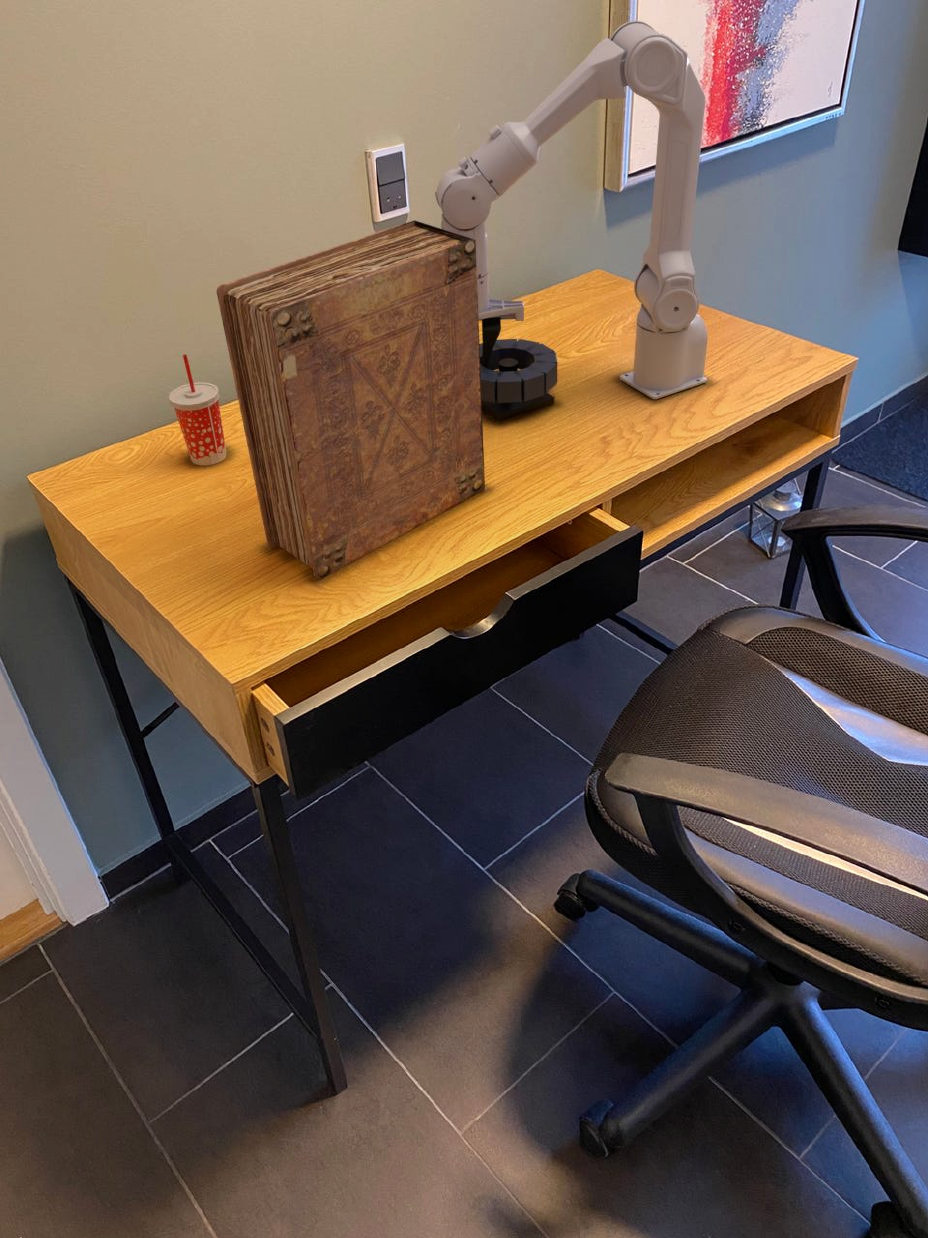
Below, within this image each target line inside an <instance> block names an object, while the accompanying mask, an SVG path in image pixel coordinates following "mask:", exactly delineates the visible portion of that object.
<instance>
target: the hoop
mask: <svg viewBox="0 0 928 1238" xmlns="http://www.w3.org/2000/svg"><path fill="white" fill-rule="evenodd" d="M482 347H483V342H481V343H480V369H481V396H482V400H484V401H488V402H493V403H495V402H496V401H497V400H498V403H511V402H521V399H522V400H523V401H528V400H531V399H534V398H537V397H540V396H543V395H544V393H545V394H547V393H550V391H551V390H552V389H553V388H555V386H556V385H557V384H558V359H557V358H558V357H557V352H555V350H554V349H552V348H550V347H549V346H547V345H546V344H544V343H540V342H538V341H533V340H527V339H523V338H519V339H518V338H504V339H503V338H502V339H500V338H499V339H497V340H496V342H495V345H494V347H493V350H492V353H491V356H490V360H489V364H488V369H487V368H485V367H484V366H482ZM507 358H511V359H515V360H517V361H518V371H510V372H499V361H500V360H502V359H507Z"/></svg>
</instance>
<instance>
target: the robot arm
mask: <svg viewBox="0 0 928 1238" xmlns="http://www.w3.org/2000/svg"><path fill="white" fill-rule="evenodd" d="M625 87H629V89H630V91H632V92H633V94H635V95H637V96H639V97H641V98H643V99H645V100H646V101H648V102H649V103H650V104H651V105H652V106H653V107H654V108H655V109H656V110H657V112H658V113H659V119H658V132H657V142H656V143H657V144H656V145H657V146H656V158H655V168H654V170H655V171H654V180H653V181H654V183H653V193H652V194H653V195H652V208H651V220H650V233H649V245H648V246H647V248H646V249H645V250H644V252H643V254H642V263H641V266H640V269H639V270H638V273H637V274H636V275H635V276H636V277H635V279H634V283H633V291H634V295H635V297H636V299H637V300H638V301H639V303H640V308H639V311H638V313H637V316H636V327H635V328H636V329H635V341H634V342H635V343H634V357H633V371H629V372H627V373H624V374H621V375H619V380H620V381H622V382H624V383H626V384H627V385H629V386H630V387H631V388H634V389H635V390H637V391H639V392H640V393H642V394H644V395H645V396H646V397H649V398H650V399H652V400H658V399H660V398H663V397H667V396H670V395H674V394H676V393H678V392H681V391H685V390H687V389H690V388H693V387H696V386H699V385H702V384H705V383H707V382H708V378H707V377H706V376H705V375H704V374H705V366H706V358H707V348H708V339H709V337H708V336H709V335H708V329H707V326H706V323H705V321H704V320H703V318H702V316H700V315H699V314H698V312H699V309H700V297H699V295H698V293H697V290H696V282H695V281H696V272H695V271H696V270H695V266H694V263H693V259H692V253H691V245H692V236H693V235H692V234H693V226H694V215H695V207H696V198H697V197H696V196H697V188H698V187H697V186H698V177H699V170H700V169H699V168H700V158H701V150H702V139H703V129H704V120H705V110H706V96H705V95H706V94H705V93H704V90H703V88H702V86H701V84H700V82H699V80H698V77H697V76H696V74H695V72H694V69H693V67H692V65H691V63H690V60H689V55H688V52H687V51H686V50H685V49H684V48H683V47H681V46H680V45H679V44H678V43H677V42H676V41H675V40H673V39H672V37H670V36H669V35H665V34H663V33H660V32H659V31H656V30H655V29H654V28H653V27H652V26H651V25H650V24H648V23H646V22H644V21H641V20H630V21H627V22H625V23H623V24H621V25H620V26H618V28H616V29H615V31H614V32H613V33H612V34H611V36H610V38H608V37H606V38H604V39H602V40H601V41H600V42H598V43H597V45H596V46H595V47H594V48H593V49H592V50H591V52H589V54H588V55H587V56H586V57H585V58H584V59H583V60H582V61H581V62H580V63H579V64H578V65H577V66H576V67H575V68H574V69H573V71H572V72H571V73H570V74H568V75H567V76H566V77H565V79H563V80H562V81H561V83H560V84H559V85H558V86H557V87H556V88H555V89H554V90H553V91H552V92H551V93H549V95H548V96H547V97H546V98H545V99H544V100H542V102H541V103H540V104H539V105H538V106H537V107H536V108H535V109H534V110H533V111H532V112H531V113H530V114H529V115H528V116H527V117H526V118H525V119H524V120H523V121H519V122H517V121H507V122H505V123H504V124H503V125H502V126H501V127H499V126H498V124H495V125H494V126H493V127H492V128H490V130H489V131H488V134H489V138H488V139H487V140H486V141H484V143H483V144H481V145H480V146H479V148H477V149H476V150H475V151H474V152H473V153H472V154H471V155H470V156H469V157H468V158H466V157H465V156H463V157H462V158H461V159H460V160H459V161H458V162H457V163H458V165H459V167H457V168H451V169H449V170H448V171H446V172H445V173H444V174H443V175H442V176H441V178H440V179H439V181H438V185H437V187H436V191H435V192H434V196H435V200H436V202H437V205H438V207H439V208H440V210H441V222H440V229H444V230H447V231H450V232H453V233H456V234H459V235H462V236H465V237H469V238H472V239H475V240H476V264H477V290H478V317H479V322H481V336H482V338H481V339H482V340H481V341H482V343H483V347H482V366H484V367H485V368H487V369H488V364H489V360H490V356H491V353H492V350H493V347H494V345H495V342H496V340H498V339H499V336H500V334H501V330H502V321H503V320H515V321H516V322H524V321H525V305H524V304H525V303H524V301H523V300H505V299H497V298H490V279H489V251H488V250H489V249H488V247H489V246H488V234H487V232H486V231H487V230H486V229H487V228H486V220H487V219H488V217H489V215H490V212H491V208H492V203H493V202H494V201H497V200H498V199H499V198H500V197H501V196H503V195H504V194H505V193H506V192H507V191H509V189H511V187H513V186H514V185H515V184H516V183H517V182H518V181H520V179H522V177H524V176H525V175H526V174H527V173H528V172H529V171H530V170H531V169H532V168H534V167H535V166H536V165H537V164H538V162H539V155H540V149H541V146H543V144H544V143H546V142H547V141H548V140H549V139H551V138H552V137H553V136H554V135H556V134H557V133H558V132H559V131H560V130H561V129H563V128H564V127H566V125H568V124H569V123H570V122H572V121H573V120H574V119H575V118H576V117H577V116H579V115H580V114H581V113H583V112H584V111H585V110H586V109H587V108H588V107H590V105H592V104H593V103H594V102H596V101H599V100H618V99H620V100H621V99H626V97H627V95H626V92H625Z"/></svg>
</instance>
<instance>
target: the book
mask: <svg viewBox="0 0 928 1238" xmlns="http://www.w3.org/2000/svg"><path fill="white" fill-rule="evenodd" d="M215 293H216V296H217V301H218V305H219V306H218V307H219V311H220V316H221V321H222V326H223V331H224V336H225V341H226V344H227V345H226V346H227V351H228V356H229V362H230V366H231V370H232V375H233V380H234V385H235V386H234V387H235V391H236V396H237V401H238V405H239V410H240V415H241V421H242V426H243V430H244V431H243V432H244V435H245V440H246V445H247V450H248V455H249V460H250V464H251V470H252V475H253V480H254V484H255V490H256V494H257V500H258V504H259V509H260V514H261V520H262V524H263V528H264V529H263V530H264V535H265V540H266V544H267V546H268V548H270V549H274V548H276V547H278V546H279V547H280V548H282V549H283V550H284V551H286V552H288V553H289V554H291V555H292V557H293V556H294V557H295V558H296V559H297V560H299V561H300V562H301V563H303V564H304V565H306V566H308V567H309V568H310V569H312V570H313V571H312V572H313V576H314V578H316V579H318V580H322V579H324V578H326V577H328V576H330V575H331V574H333V573H336V572H337V571H339V570H340V569H342V568H344V567H346V566H348V565H350V564H352V563H353V562H355V561H357V560H359V559H361V558H362V557H365V556H366V555H368V554H370V553H371V552H373V551H376V550H377V549H379V548H381V547H383V546H384V545H386V544H388V543H390V542H392V541H394V540H395V539H397V538H399V537H401V536H403V535H404V534H406V533H409V532H410V531H412V530H413V529H415V528H417V527H419V526H421V525H424V523H427V522H428V521H430V520H432V519H433V518H436V517H438V516H439V515H441V514H443V513H444V512H446V511H448V510H450V509H452V508H453V507H456V506H457V505H459V504H461V503H462V502H464V501H466V500H468V499H470V498H472V497H473V496H475V495H477V494H479V493H481V492H482V491H483V492H484V491H485V488H486V478H485V453H484V451H485V450H484V449H485V448H484V426H483V423H484V422H483V411H482V396H481V369H480V344H481V343H480V321H479V317H478V290H477V264H476V240H475V239H472V238H469V237H465V236H462V235H459V234H456V233H453V232H450V231H447V230H444V229H441V227H437V226H434V225H430V224H427V223H425V222H421V221H418V220H410V221H408V222H405V223H402V224H399V225H396V226H394V227H393V226H392V227H390V228H388V229H387V228H386V229H383V230H381V231H378V232H375V233H372V234H369V235H366V236H363V237H360V238H358V239H354V240H351V241H348V242H345V243H341V244H339V245H337V246H333V247H331V248H327V249H325V250H321V251H319V252H316V253H312V254H310V255H306V256H303V257H301V258H298V259H295V260H291V261H289V262H288V261H287V262H285V263H283V264H279V265H277V266H273V267H271V268H268V269H267V268H266V269H265V270H261V271H259V272H255V273H253V274H250V275H247V276H244V277H241V278H237V279H235V280H232V281H229V282H226V283H223V284H220V285H219V286H218V287H217V288H216V291H215Z"/></svg>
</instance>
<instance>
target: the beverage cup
mask: <svg viewBox="0 0 928 1238" xmlns="http://www.w3.org/2000/svg"><path fill="white" fill-rule="evenodd" d="M182 359H183V363H184V366H185V367H184V368H185V371H186V375H187V379H188V383H186V384H183V385H180V386H178V387H176V388H174V389H173V390H172V391H171V392H170V393H169V395H168V396H169V397H168V400H169V402H170V406H171V407H173V408H174V412H175V415H176V418H177V421H178V424H179V428H180V431H181V434H182V436H183V439H184V442H185V445H186V449H187V451H188V455H189V457H190V461H191V462H192V463H193V464H195V465H197V466H213V465H216V464H218V463H220V462H223V461H224V460H225V459H226V457H227V455H228V453H227V446H226V441H225V440H226V439H225V434H224V428H223V422H222V414H221V407H220V402H219V400H220V390H219V389H220V388H219V387H218V386H217V385H216V384H213V383H212V382H211V383H210V382H206V381H205V382H202V381H198V382H194V380H193V376H192V371H191V366H190V364H189V359H188V355H187V354H182Z"/></svg>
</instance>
